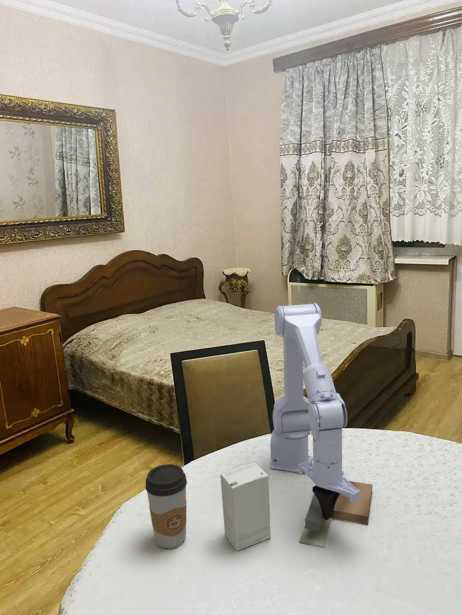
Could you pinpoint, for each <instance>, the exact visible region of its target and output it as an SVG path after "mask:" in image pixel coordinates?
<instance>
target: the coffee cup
mask: <svg viewBox="0 0 462 615" xmlns="http://www.w3.org/2000/svg"><path fill="white" fill-rule="evenodd" d="M186 475H187V474H186V473H185V472H184V470H183V468H182V467H181V466H180V465H177V464H171V463H168V464H167V463H166V464H160V465H157V466H155V467H153V468H151V469H150V470H149V471H148V473H147V477H146V478H145V486H144V488H145V491H146V493H147V494H146V495H147V498H148V499H147V500H148V508H149V513H150V519H151V524H152V525H151V526H152V528H153V535H154V540H155V542H156V544H157V546H159V547H160V546H161V547H160V548H162V547H163V548H162V549H165V548H172V549H175V548H174V547H176V548H177V546H178V547H180V546H181V545H182V544H183V543H184V542H183V541H185V540H186V537H187V485H188V480H187V476H186ZM184 539H185V540H184ZM182 542H183V543H182ZM181 543H182V544H181ZM180 544H181V545H180ZM179 545H180V546H179Z"/></svg>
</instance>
